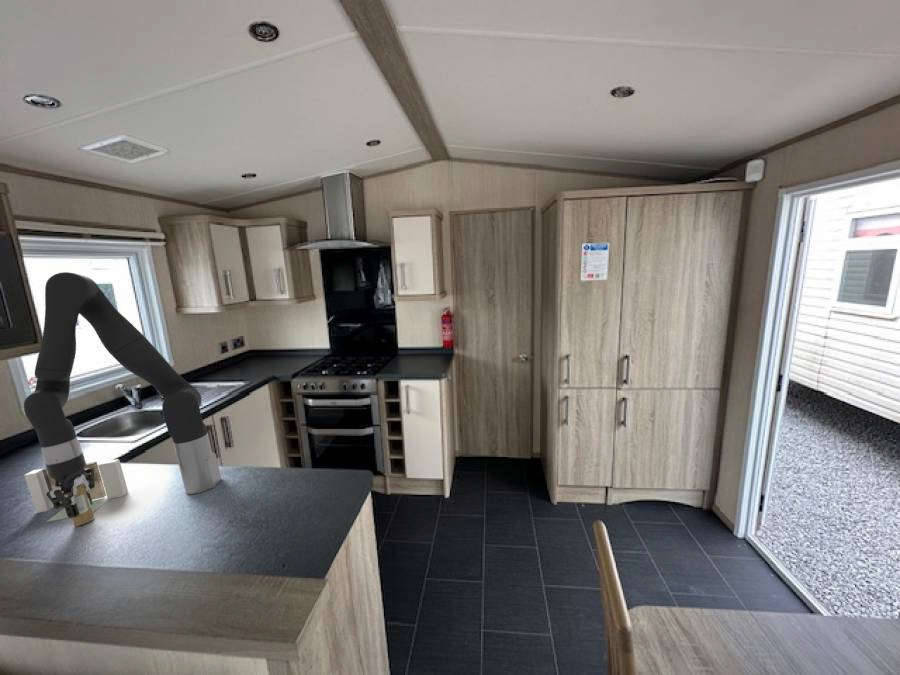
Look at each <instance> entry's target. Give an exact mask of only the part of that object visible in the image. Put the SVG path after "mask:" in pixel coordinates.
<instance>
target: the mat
mask: <svg viewBox="0 0 900 675" xmlns="http://www.w3.org/2000/svg"><path fill="white" fill-rule="evenodd" d="M111 499H112V498H107V497H106V498H100V499H94V500H92V505H91V508H92V511H93V514H94V513H95V512H97V510H99V509H100V508H101V507H102V506H103V505H105V504H106V503H107V502H108V501H110V500H111ZM64 519H70V518H69V517H68V516H67V513H66V510H65V508H64V507H63V508H62V510H60V511H58V512H57V513H56V514H54V515H53V516H52V517H50V518H49V519H47V520H46V523H49V522H54V521H59V520H64Z"/></svg>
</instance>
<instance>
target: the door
mask: <svg viewBox="0 0 900 675" xmlns="http://www.w3.org/2000/svg"><path fill="white" fill-rule="evenodd" d="M98 465H99V464H98V462H97V461H93V462H92V461H91V462H86V467H85V468H84V469H88V468H94V481H95V487H94V488H92V489H91V492H90V496H91V499H92V501H94V500H99V499H105V497H107V494H106V491H105V488H104V484H103V481H102V477H101V474H100V470H99V467H98ZM43 469H44V470H42V471H43V474H44V477H45V480H46V484H47V487H48V490H49V491H52V490H53V489H54V488H55V480H54V479H52V478H50V477H49V474H48V471H47V468H43ZM87 482H88V483H89V485H90V481H89V480H88V481H87ZM60 503H62V502H60ZM53 506H54V504H53ZM53 508H54V509H57V508H56V507H55V506H54V507H53Z"/></svg>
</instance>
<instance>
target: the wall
mask: <svg viewBox="0 0 900 675" xmlns="http://www.w3.org/2000/svg"><path fill="white" fill-rule="evenodd" d="M97 465H98V469H99V472H100V475H101V479H102V482H103V486H104V489H105V493H106V498H111V499H116V498H121V497H125V496H126V495H128V494H129V490H128V485H127V483H126V479H125V475H124V471H123V469H122V468H123V467H122V465H121V462H120V459H118V458H117V459H113V460H106V461H102V462H100V463H98V464H97Z"/></svg>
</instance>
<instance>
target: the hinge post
mask: <svg viewBox="0 0 900 675" xmlns="http://www.w3.org/2000/svg"><path fill="white" fill-rule="evenodd" d="M44 469H45V468H39V469H33V470H31V471H29V472H27V473H25V474H24V478H25V482H26V484H27V488H28V490H29V494H30V496H31V497H30V498H31V499H32V503H33V507H34V510H35V512H36V514H39V513H45V512H48V511H50V510H52V509H53V508H54V506H53V503H52V502H51V500H50V499H49V498H48V496H47V495H46V494H47V492H48V491H49V490H48V487H47V484H46V480H45V477H44V474H43V471H42V470H44Z"/></svg>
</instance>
